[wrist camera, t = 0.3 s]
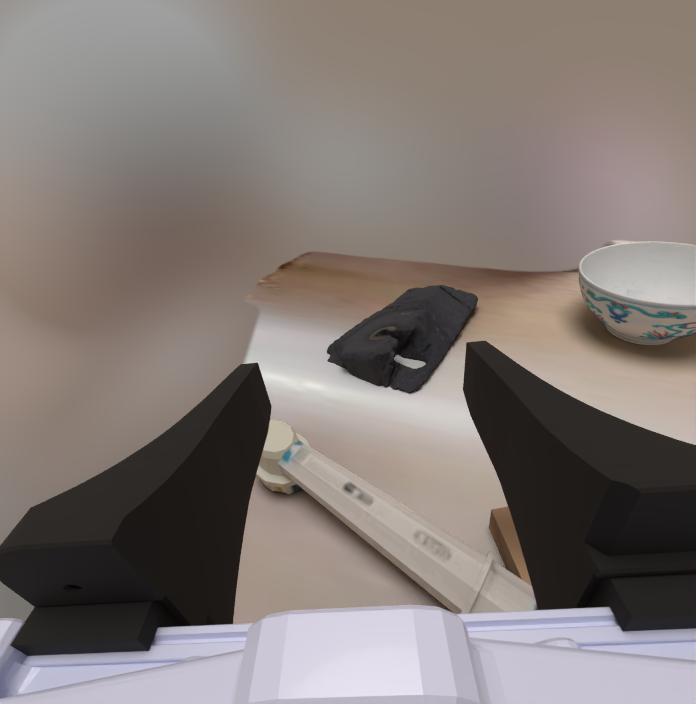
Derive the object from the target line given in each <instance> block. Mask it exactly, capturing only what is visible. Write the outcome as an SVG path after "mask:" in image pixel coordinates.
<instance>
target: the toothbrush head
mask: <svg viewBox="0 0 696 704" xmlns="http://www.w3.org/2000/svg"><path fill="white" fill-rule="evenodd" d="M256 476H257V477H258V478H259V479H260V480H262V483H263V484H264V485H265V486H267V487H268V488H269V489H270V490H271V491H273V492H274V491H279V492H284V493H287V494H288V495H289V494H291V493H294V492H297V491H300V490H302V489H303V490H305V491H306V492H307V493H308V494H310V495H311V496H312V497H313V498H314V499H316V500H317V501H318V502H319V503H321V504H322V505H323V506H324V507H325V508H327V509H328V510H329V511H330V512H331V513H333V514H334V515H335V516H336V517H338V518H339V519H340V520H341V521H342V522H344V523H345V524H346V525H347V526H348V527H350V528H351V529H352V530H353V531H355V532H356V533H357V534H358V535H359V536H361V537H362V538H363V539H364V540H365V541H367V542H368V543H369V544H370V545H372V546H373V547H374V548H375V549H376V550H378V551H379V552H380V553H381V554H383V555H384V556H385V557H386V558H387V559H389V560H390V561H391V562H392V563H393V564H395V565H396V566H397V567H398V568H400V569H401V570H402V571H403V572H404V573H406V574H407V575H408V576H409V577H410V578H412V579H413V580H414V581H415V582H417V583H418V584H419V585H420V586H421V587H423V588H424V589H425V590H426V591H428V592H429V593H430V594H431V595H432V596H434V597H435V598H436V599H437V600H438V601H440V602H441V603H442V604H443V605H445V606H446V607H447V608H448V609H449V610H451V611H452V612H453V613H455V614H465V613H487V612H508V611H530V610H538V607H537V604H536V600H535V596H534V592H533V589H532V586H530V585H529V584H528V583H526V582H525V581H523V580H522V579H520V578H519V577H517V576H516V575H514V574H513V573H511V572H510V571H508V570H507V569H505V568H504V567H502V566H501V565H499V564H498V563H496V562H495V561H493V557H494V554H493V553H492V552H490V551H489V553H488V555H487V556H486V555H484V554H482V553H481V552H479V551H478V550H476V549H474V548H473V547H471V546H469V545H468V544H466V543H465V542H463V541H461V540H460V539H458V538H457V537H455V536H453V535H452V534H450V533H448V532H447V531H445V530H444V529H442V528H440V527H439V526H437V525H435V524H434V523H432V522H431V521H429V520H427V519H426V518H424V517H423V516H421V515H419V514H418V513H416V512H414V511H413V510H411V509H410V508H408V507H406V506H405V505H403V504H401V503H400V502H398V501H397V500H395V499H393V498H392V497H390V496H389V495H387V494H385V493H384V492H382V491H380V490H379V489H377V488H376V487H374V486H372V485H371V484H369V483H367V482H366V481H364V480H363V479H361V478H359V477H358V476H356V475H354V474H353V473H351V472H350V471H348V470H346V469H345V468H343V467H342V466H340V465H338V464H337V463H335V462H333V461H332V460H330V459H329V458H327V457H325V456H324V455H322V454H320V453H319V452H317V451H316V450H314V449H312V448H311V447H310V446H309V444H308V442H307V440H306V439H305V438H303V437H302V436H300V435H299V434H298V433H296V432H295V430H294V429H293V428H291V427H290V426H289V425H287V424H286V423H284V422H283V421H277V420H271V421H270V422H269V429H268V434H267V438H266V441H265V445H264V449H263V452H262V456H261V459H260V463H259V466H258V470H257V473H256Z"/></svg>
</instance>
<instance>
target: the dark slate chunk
mask: <svg viewBox="0 0 696 704" xmlns="http://www.w3.org/2000/svg"><path fill="white" fill-rule="evenodd" d="M477 301H478V298H477V296H476V295H474V294H472V293H467V292H464V291H461V290H455V289H454V288H451V287H447V286H444V285H438V286H428V287H425V288H413V289H409V290H407V291H406V292H405V293H404V294H403V295H401V296H400V297H399V298H397V299H396V300H395V301H394V302H393V303H391V304H389V305H388V306H386V307H385V308H383V309H382V310H381V311H378V312H376V313H374V314H373V315H372V316H370V317H369V318H366V319H364V320H363V321H362V322H361V323H359V324H357V325H356V326H355V327H353V328H352V329H351V330H349V331H348V332H346V333H345V334H344V335H343V336H341V337H340V338H339V339H337V340H335V341H334V343H332V344H331V345H330V346H329V347H328V350H327V353H328V354H330V358H329V359H328V360H327V361H328V362H331V363H334V364H336V365H338V366H341V367H343V368H346V369H347V370H348V371H349V372H350V373H351V374H352V375H353V376H356V377H358V378H359V379H362V380H365V381H367V382H370V383H372V384H374V385H377V386H381V385H384V386H385V387H387V386H391V387H392V388H394V389H396V390H397V389H399V388H400V389H401V390H407V391H408V392H412V391H416V390H418V389H420V386H422V384H423V381H424V380H426V379H427V378H428V377H429V375H430V373H431V372H432V371H433V369H434V368H435V367H436V366H437V364H438V363H439V362H440V361H441V360H442V358H443V357H444V355H445V354H446V353H447V351H448V349H449V348H450V346H451V343H452V342H453V341H454V340H455V337H456V336H457V334H458V333H459V332H460V331H461V328H462V327H463V325H464V324H465V322H466V320H467V318H468V316H469V314H470V312H471V311H472V310H473V309H474V308H475V307H476V305H477ZM396 354H398V355H400V356H401V357H403V358H408V359H413V360H419V361H423V362H426V365H424V366H423V367H421V368H418V369H412V368H409V367H406V366H404V365H401V364H400V363H397V362H396V361H395V360H394V356H395V355H396Z"/></svg>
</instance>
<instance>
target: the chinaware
mask: <svg viewBox="0 0 696 704" xmlns="http://www.w3.org/2000/svg"><path fill="white" fill-rule="evenodd" d="M579 283H580V289H581V292H582V296H583V298H584V300H585V302H586V304H587V306H588V307H589V309H590V310H591V312H592V313H593V314H594V315H595V316H596V317H597V318H598V319H599V320H600V321H602V322H603V323H604V324H606V328H607V330H608V331H609V332H610V333H611V334H613V335H614V336H616V337H617V338H619V339H622V340H624V341H627V342H631V343H635V344H641V345H660V344H665V343H668V342H670V341H672V340H674V339H675V338H680V337H685V336H689V335H693V334H696V245H690V244H682V243H673V242H631V243H622V244H616V245H611V246H607V247H603V248H600V249H597V250H595V251H593V252H591V253H589V254H587V255H586V256H585V257H584V258H583V259H582V260H581V262H580V264H579Z"/></svg>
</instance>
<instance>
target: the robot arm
mask: <svg viewBox="0 0 696 704" xmlns="http://www.w3.org/2000/svg"><path fill="white" fill-rule="evenodd" d="M463 391H464V395H465V398H466V402H467V405H468V408H469V412H470V415H471V417H472V420H473V422H474V424H475V426H476V429H477V431H478V433H479V435H480V437H481V440H482V442H483V444H484V446H485V448H486V451H487V453H488V455H489V457H490V459H491V462H492V464H493V466H494V468H495V470H496V473H497V475H498V478H499V480H500V483H501V486H502V489H503V492H504V495H505V498H506V501H507V504H508V507H509V510H510V513H511V517H512V520H513V523H514V526H515V529H516V533H517V536H518V539H519V542H520V546H521V549H522V553H523V556H524V560H525V563H526V567H527V570H528V574H529V577H530V581H531V585H532V589H533V592H534V596H535V600H536V604H537V607H538V610H530V611H508V612H487V613H465V614H455V613H452V612H450V611H447V610H445V609H442V608H440V607H437V606H423V605H395V606H374V607H354V608H333V609H312V610H291V611H285V612H279V613H273V614H268V615H266V616H264V617H263V618H261V619H260V620H258V621H257V622H255V623H247V624H233V616H234V606H235V595H236V587H237V579H238V571H239V563H240V555H241V548H242V542H243V535H244V528H245V522H246V517H247V511H248V505H249V500H250V495H251V491H252V487H253V484H254V480H255V477H256V473H257V470H258V466H259V463H260V459H261V456H262V452H263V449H264V445H265V441H266V438H267V434H268V429H269V422H270V415H271V403H270V400H269V397H268V394H267V391H266V388H265V384H264V381H263V378H262V375H261V372H260V369H259V365H258V363H251V364H241V365H240V366H238V367H237V368H236V369H235V370H234V371H233V372H232V373H231V374H230V375H229V376H228V377H227V378H226V379H225V380H224V381H223V382H221V384H219V385H218V386H217V387H216V388H215V389H214V390H213V391H212V392H211V393H210V394H209V395H208V396H207V397H206V398H205V399H204V400H203V401H202V402H200V403H199V404H198V405H197V406H196V407H195V408H193V410H191V411H190V412H189V413H188V414H187V415H185V416H184V417H183V418H182V419H181V420H180V421H179V422H177V423H176V424H175V425H173V426H172V427H171V428H170V429H168V430H167V431H166V432H164V433H163V434H162V435H160V436H159V437H158V438H156V439H155V440H153V441H152V442H150V443H149V444H148V445H146V446H144V447H143V448H141V449H140V450H138V451H137V452H135V453H134V454H132V455H130V456H129V457H127V458H126V459H125V460H123V461H121V462H119V463H118V464H116V465H114V466H113V467H111V468H109V469H107V470H106V471H104V472H102V473H100V474H99V475H97V476H95V477H93V478H91V479H89V480H87V481H86V482H84V483H82V484H80V485H78V486H76V487H74V488H72V489H70V490H68V491H65V492H64V493H61V494H59V495H57V496H55V497H53V498H51V499H49V500H47V501H45V502H42V503H40V504H38V505H36V506H34V507H31V508H30V510H29V511H28V512H27V513H26V514H25V516H24V517H23V518H22V519H21V521H20V522H19V523H18V524H17V525H16V527H15V528H14V529H13V530H12V532H11V533H10V534H9V535H8V537H7V538H6V539H5V540H4V542H3V543H2V544H1V545H0V581H1V582H2V583H3V584H5V585H6V586H7V587H9V588H10V589H11V590H13V591H14V592H15V593H17V594H18V595H20V596H21V597H22V598H24V599H25V600H26V601H28V602H29V603H31V604H32V605H33V606H35V607H34V609H33V611H32V612H31V614H30V615H29V617H28V618H27V620H26V621H22V620H18V619H11V618H1V619H0V704H696V445H693V444H689V443H686V442H682V441H679V440H676V439H673V438H670V437H667V436H664V435H662V434H659V433H656V432H653V431H650V430H647V429H644V428H642V427H639V426H636V425H634V424H631V423H629V422H626V421H624V420H621V419H619V418H617V417H614V416H612V415H609V414H607V413H605V412H602V411H600V410H598V409H596V408H594V407H591V406H589V405H587V404H585V403H583V402H581V401H579V400H577V399H575V398H573V397H571V396H569V395H568V394H566V393H564V392H562V391H560V390H558V389H557V388H555V387H553V386H552V385H550V384H548V383H547V382H545V381H543V380H542V379H540V378H539V377H537V376H535V375H534V374H532V373H531V372H529V371H528V370H526V369H525V368H523V367H522V366H520V365H519V364H517V363H516V362H515V361H513V360H512V359H510V358H509V357H508V356H506V355H505V354H503V353H502V352H501V351H499V350H498V349H496V348H495V347H494V346H492V345H491V344H489V343H488V342H486V341H478V342H467V344H466V358H465V371H464V384H463Z"/></svg>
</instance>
